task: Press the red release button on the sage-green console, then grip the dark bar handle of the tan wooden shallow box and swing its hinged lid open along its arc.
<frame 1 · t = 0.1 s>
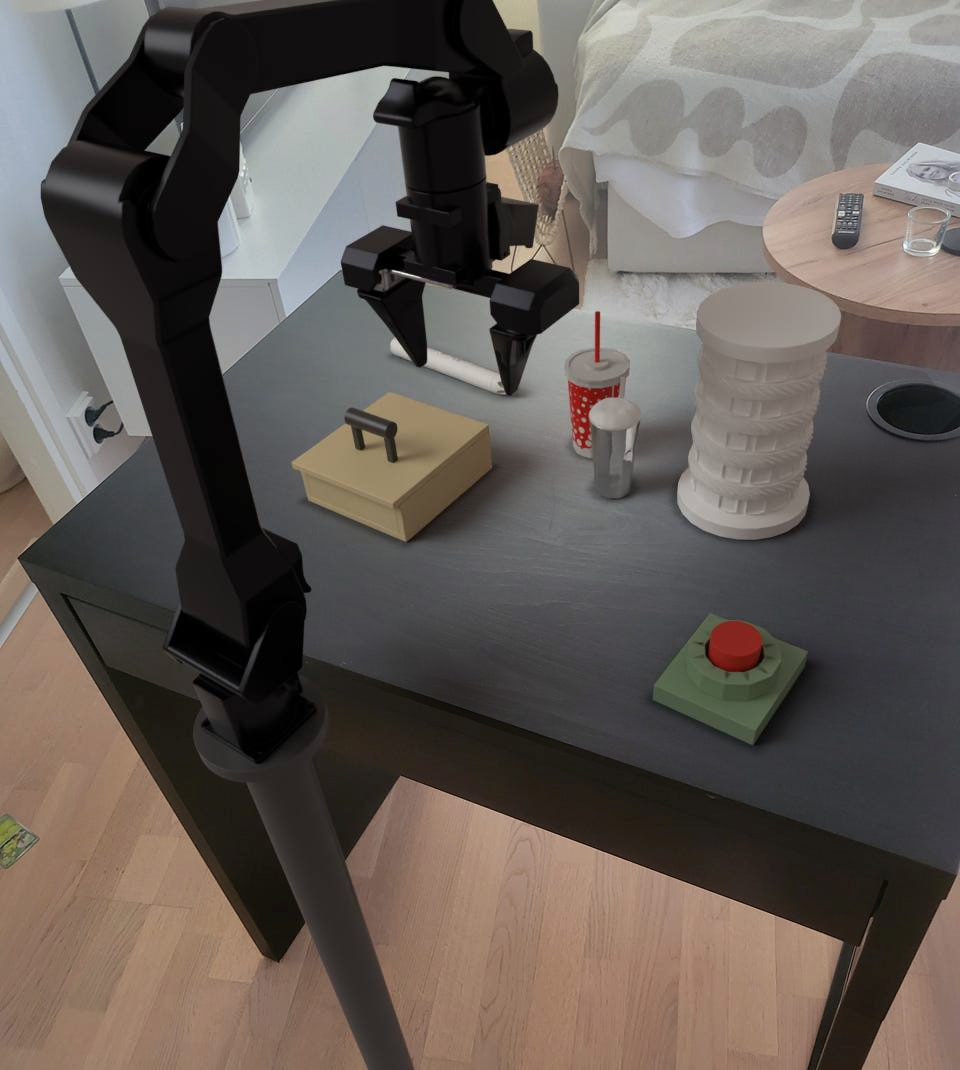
hand: (465, 378, 77), 15 cm above the table, tool pointing down, fingers open, 9 cm apart
release button: (735, 646, 68), point 4 cm above the table, slide at 0.1 cm
tan wooden shallow box: (401, 484, 92), on the table
decorative container: (741, 501, 87), on the table
warmer lid: (388, 427, 88), point 7 cm above the table, hinge at 0.0°
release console: (729, 683, 71), on the table
milkshake: (614, 488, 90), on the table
marker: (454, 377, 106), on the table
beverage cup: (596, 447, 95), on the table
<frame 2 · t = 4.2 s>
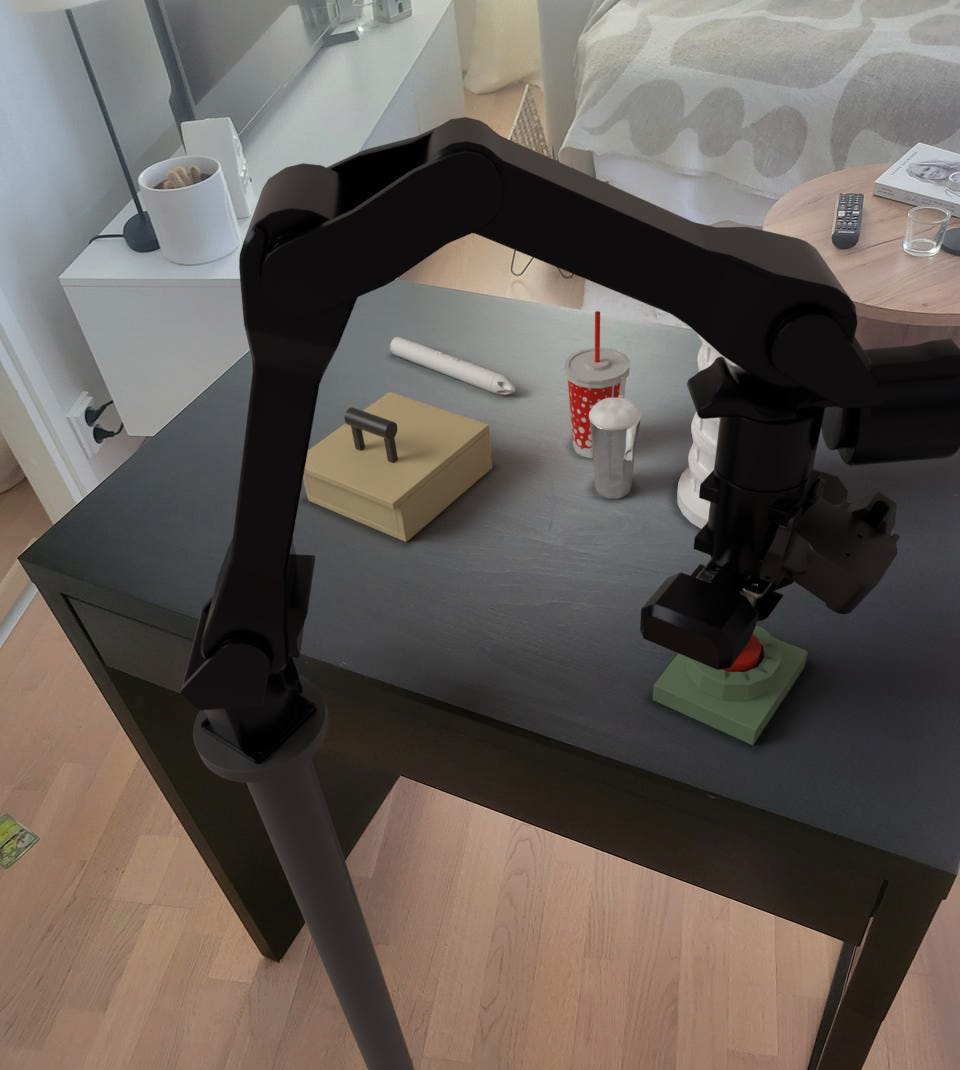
hand: (734, 645, 68), 4 cm above the table, tool pointing down, fingers closed, pressing on release button
release button: (733, 653, 69), point 3 cm above the table, slide at -0.7 cm, touching gripper
everything else where it was.
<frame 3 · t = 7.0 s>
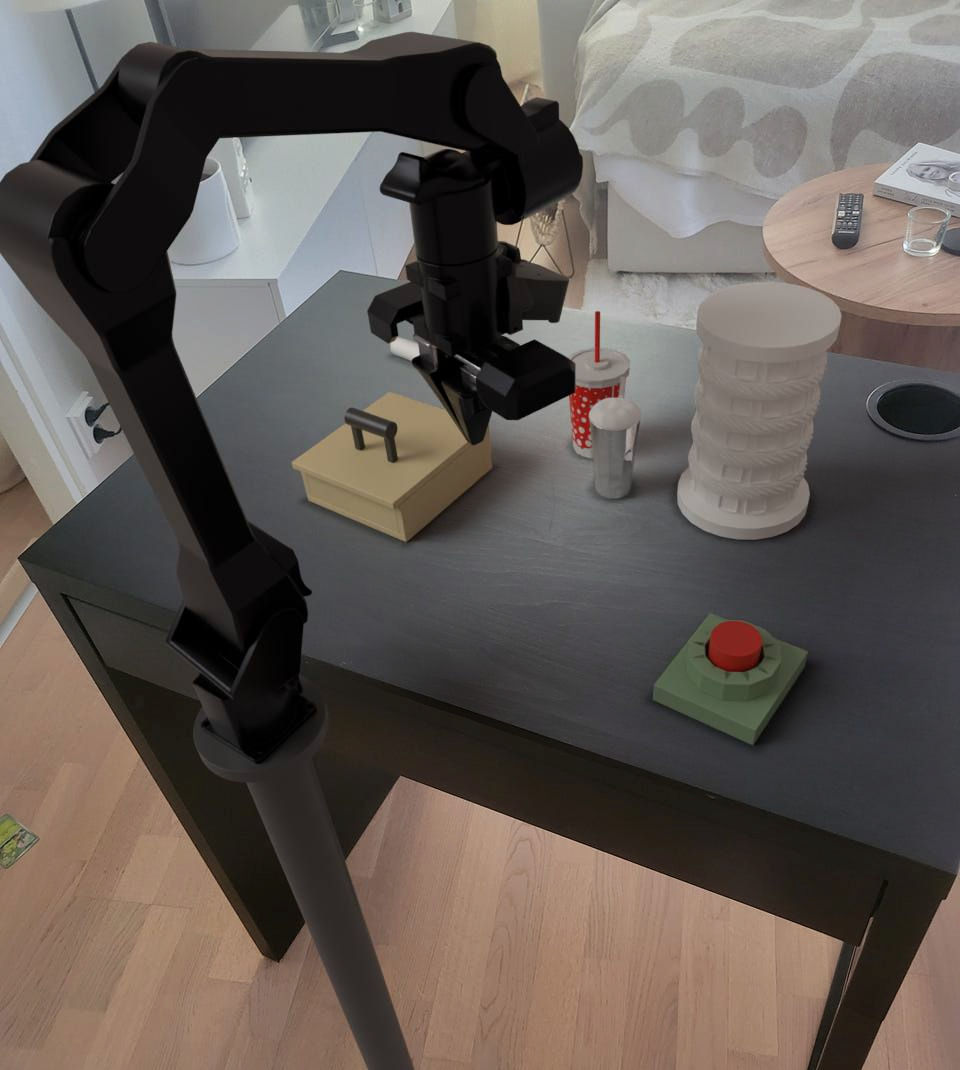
hand: (475, 441, 76), 11 cm above the table, tool pointing down, fingers closed
release button: (735, 646, 68), point 4 cm above the table, slide at 0.1 cm
everything else where it was.
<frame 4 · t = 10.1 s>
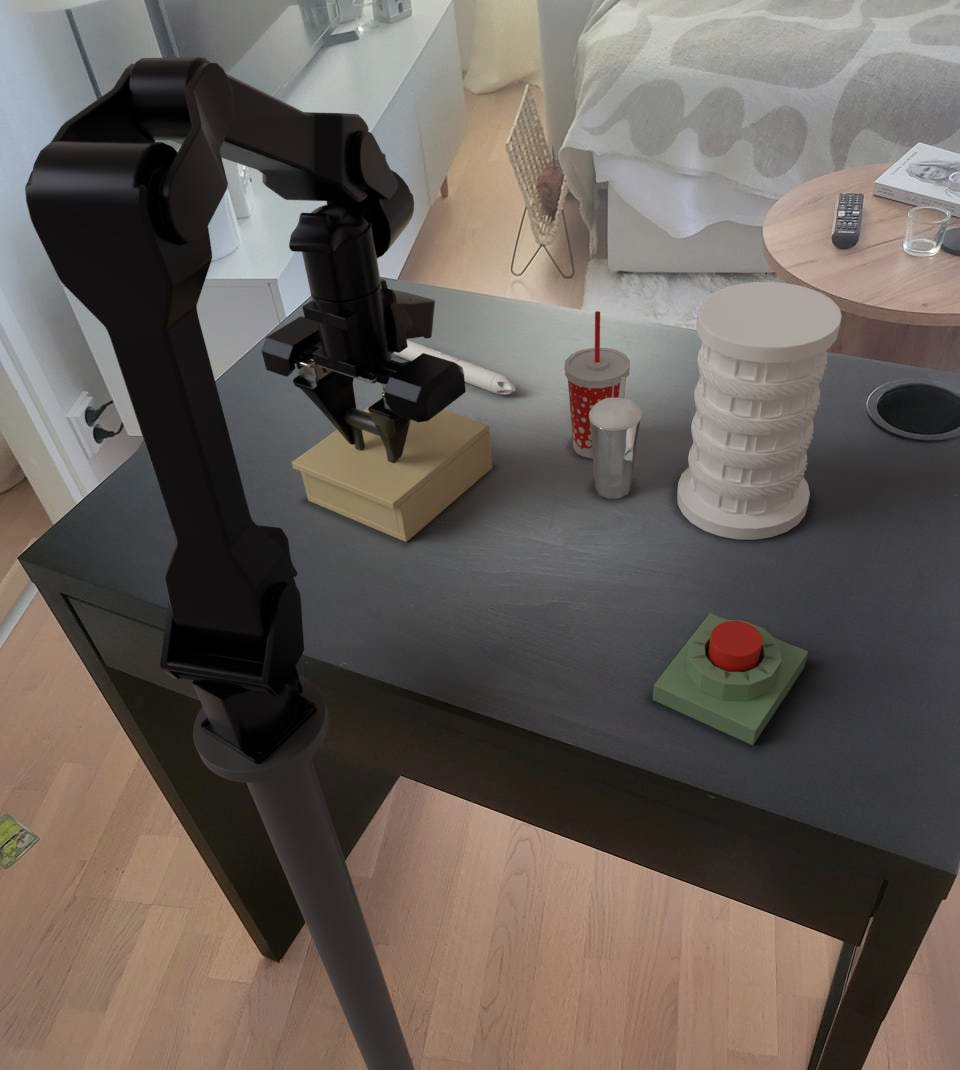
hand: (375, 450, 87), 5 cm above the table, tool pointing down, fingers closed on warmer lid, 5 cm apart
warmer lid: (388, 427, 88), point 7 cm above the table, hinge at 0.0°, touching gripper
everything else where it was.
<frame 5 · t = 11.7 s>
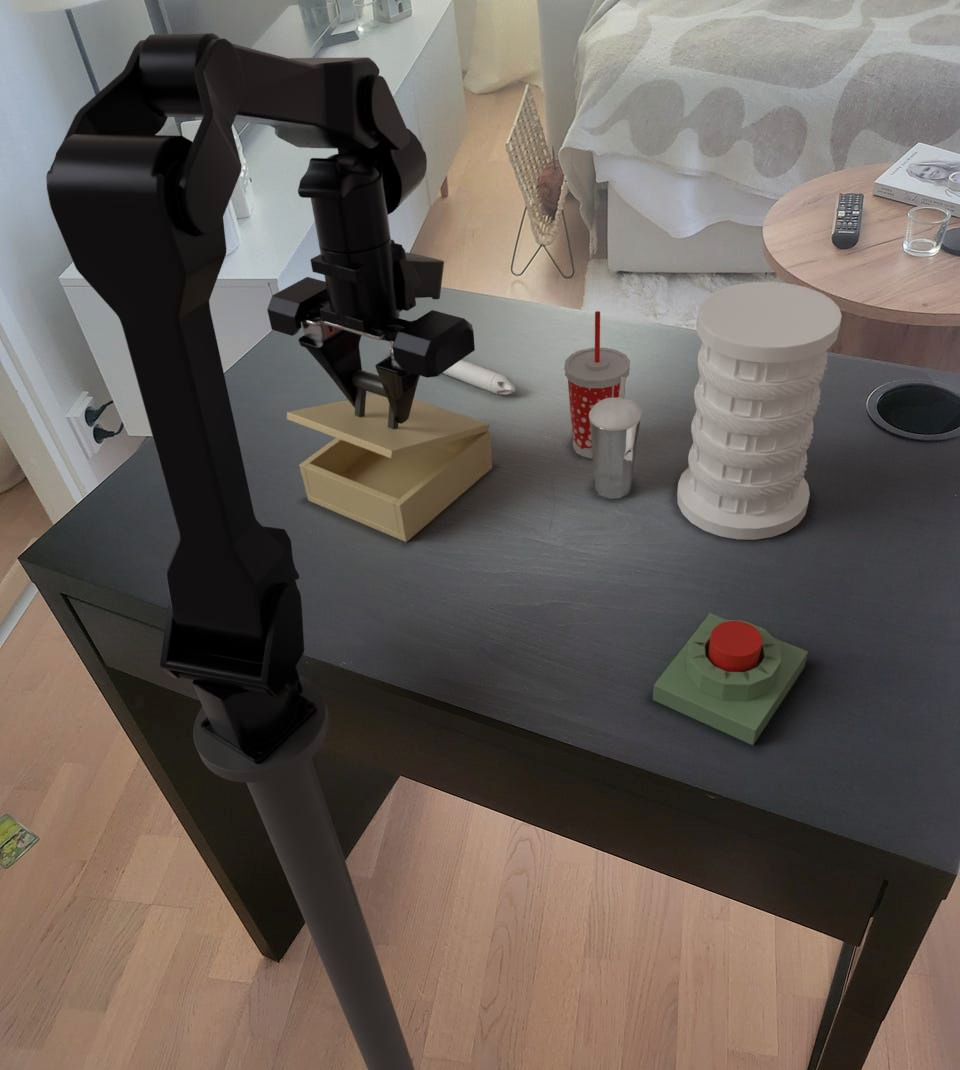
hand: (381, 413, 86), 8 cm above the table, tool pointing down, fingers closed on warmer lid, 5 cm apart
warmer lid: (392, 399, 87), point 9 cm above the table, hinge at 19.9°, touching gripper
everything else where it was.
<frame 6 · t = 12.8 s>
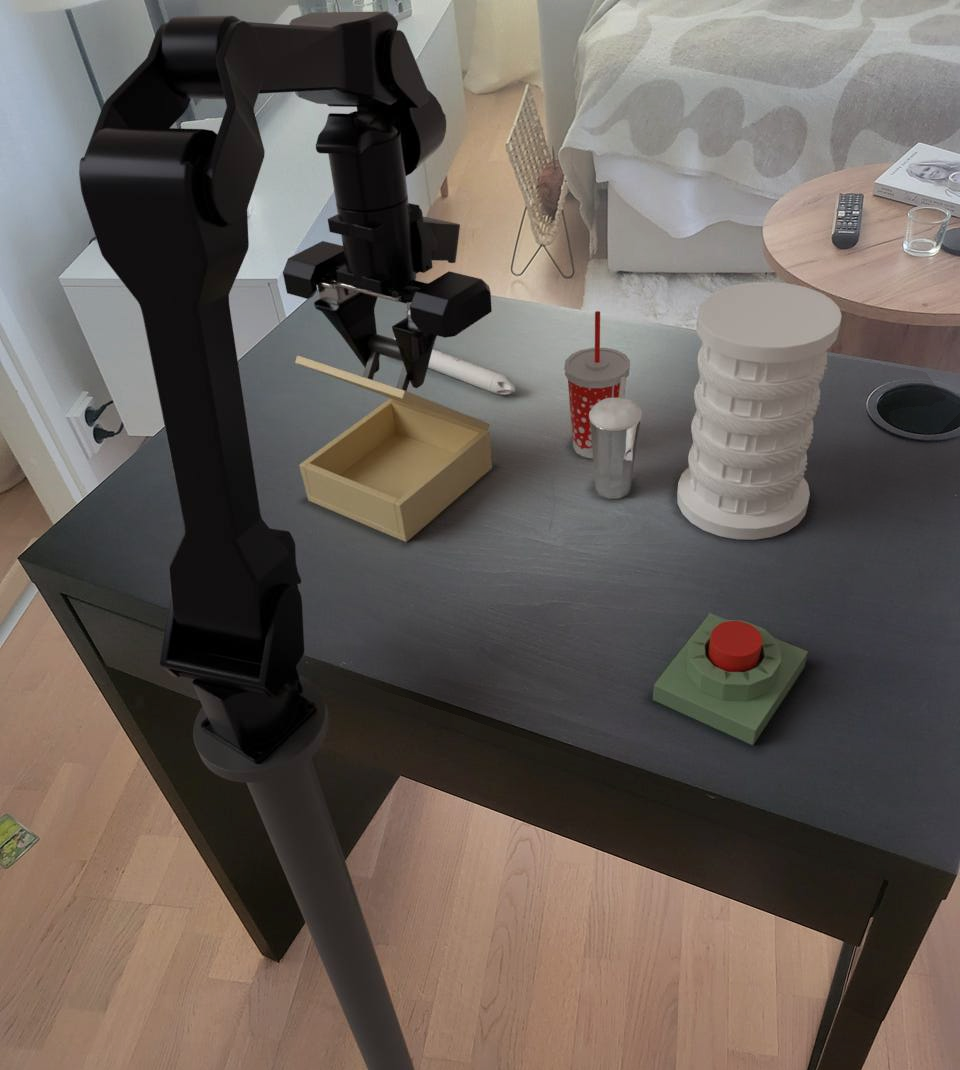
hand: (396, 379, 86), 11 cm above the table, tool pointing down, fingers closed on warmer lid, 5 cm apart
warmer lid: (403, 372, 86), point 11 cm above the table, hinge at 40.3°, touching gripper
everything else where it was.
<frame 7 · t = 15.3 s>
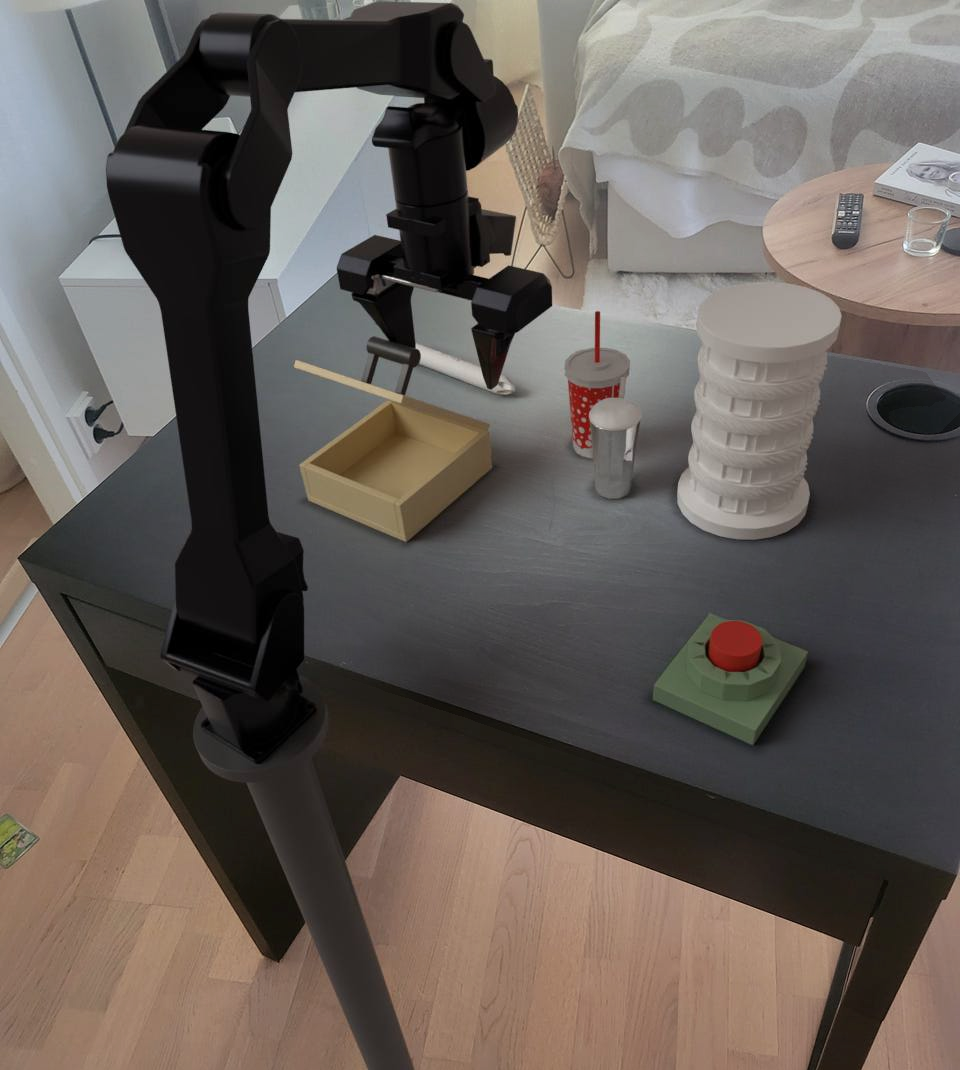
hand: (450, 374, 85), 11 cm above the table, tool pointing down, fingers open, 9 cm apart
warmer lid: (402, 374, 86), point 11 cm above the table, hinge at 38.7°
everything else where it was.
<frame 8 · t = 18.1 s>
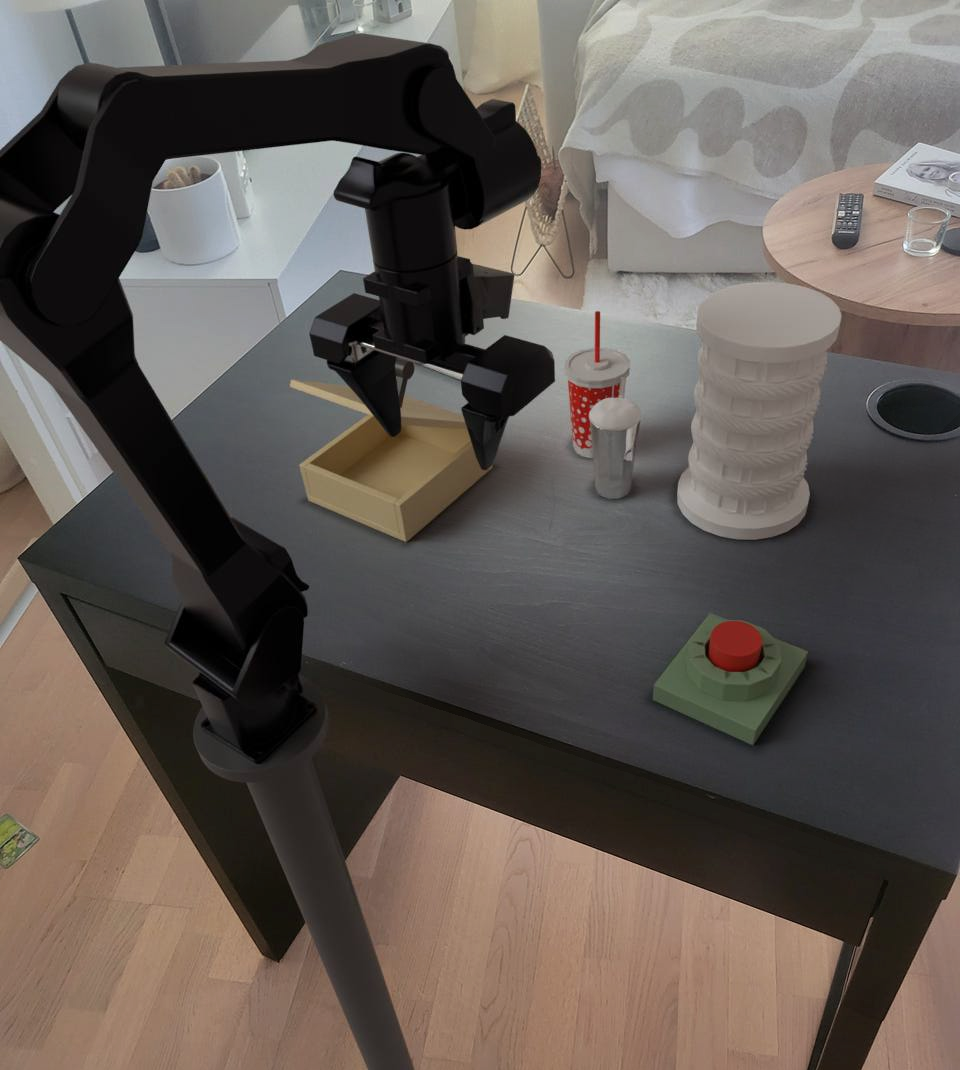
hand: (440, 450, 75), 12 cm above the table, tool pointing down, fingers open, 9 cm apart
warmer lid: (397, 383, 86), point 10 cm above the table, hinge at 31.7°
everything else where it was.
at the end: release button pushed in 1.1 cm at the most during the clip, back to where it started at the end; release button slide at 0.1 cm; warmer lid at +32° (first picture: +0°) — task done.
